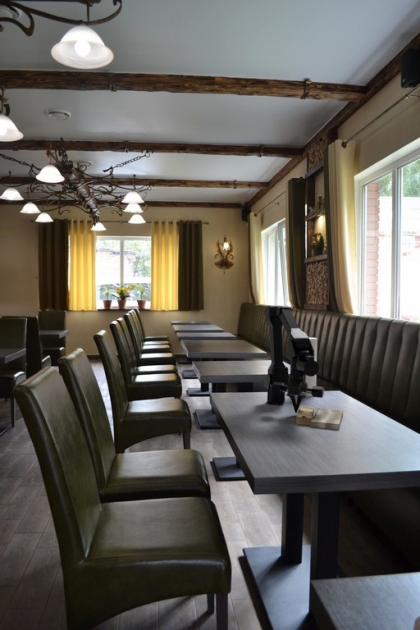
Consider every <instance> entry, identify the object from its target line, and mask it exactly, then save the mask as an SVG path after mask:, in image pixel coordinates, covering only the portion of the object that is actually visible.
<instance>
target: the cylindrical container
mask: <svg viewBox="0 0 420 630" xmlns="http://www.w3.org/2000/svg"><path fill="white" fill-rule="evenodd" d="M309 339H310V341H311V344H312V347H313V349H314V356H313V357H314V361H316V362H317V361H318V337H309ZM307 352H308V351H307ZM317 363H318V362H317ZM306 382H307V383H308V388H313V386H317V374H316V375H315V376H312V377H310V376H307V375H306ZM307 397H313V396H312V395H311V394H310V393H308V395H307Z"/></svg>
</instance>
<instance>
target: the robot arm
mask: <svg viewBox="0 0 420 630" xmlns="http://www.w3.org/2000/svg"><path fill="white" fill-rule="evenodd" d="M263 315H264V317H265V322H266V324H267V326H268V327H269V333H270V334H269V336H270V341H269V342H270V357H271V360H270V361H271V362H270V365H269V367H268V369H267V374H266V377H265V379H264V381H263V387H264V388H265V389H267V392H266V393H267V396H266V397H267V398H266V399H267V400H266V402H265V403H266V404H268V405H278V406H282V405H284V403H285V402H286V397H289V399H290V401H291V403H292V406H293V410H294V413H295V414H298V411H299V408H300V406H301V404H302V401H303V399H306V398H307V397H308V396H307V395H308V393H310V394H311V395H312V396H311V397H313V398H320V399H321V398H324V396H325V388H324V387H323V386H318V385H316V386H313V388H308V383H307V382H306V375H307V376H310V377H312V376H315V375H316V376H317V374H319V370H320V365H319V363H318V362H316V361H314V357H313V356H314V349H313V347H312V344H311V341H310V339H309V338H310V337H309V336H308V334H307V333H306V332H304V331H302V330H301V329H300V327H299V324H298V322H297V320H296V319H295V317H294V314H293V312H292V307H291V306H289V305H267V306H266V308H264V312H263ZM283 329H284V330H285V333H286V334H287V338H288V339H287V341H286V342H287V343H286V344H287V347H288V350H289V352H290V353H289V355H288V356H289V357H290V367H289V368H290V369H289V368H288V366H287V365H285V363H284V349H283V347H284V346H283V344H284V343H283ZM307 351H308V352H307Z"/></svg>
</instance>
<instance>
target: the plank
mask: <svg viewBox="0 0 420 630" xmlns="http://www.w3.org/2000/svg"><path fill="white" fill-rule="evenodd" d="M314 412H315V406H302V405H300V406H299V409H298V411H297V413H296V418H295V419H296V420H295V421H296V422H295V423H296V425H309V426H311V421H312V419H313V417H314V415H315V413H314Z"/></svg>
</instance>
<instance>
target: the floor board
mask: <svg viewBox="0 0 420 630" xmlns="http://www.w3.org/2000/svg"><path fill="white" fill-rule="evenodd" d="M343 417H344V410H343V409H332V408H324V407H323V408H321V407H317V409H316V411H315V413H314V415H313V419H312V421H311V425H310V427H313V428H318V429H319V428H321V429H331V430H340V427H341V424H342V419H343Z"/></svg>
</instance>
